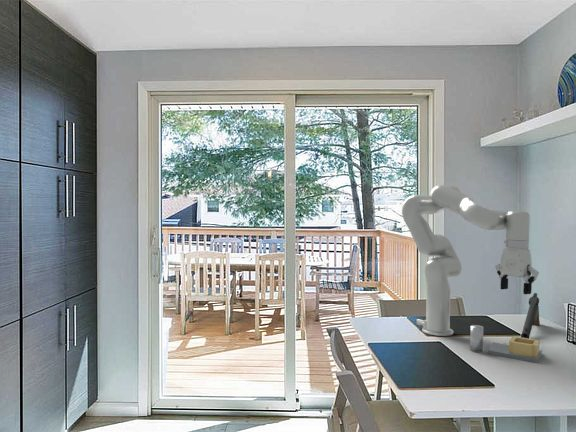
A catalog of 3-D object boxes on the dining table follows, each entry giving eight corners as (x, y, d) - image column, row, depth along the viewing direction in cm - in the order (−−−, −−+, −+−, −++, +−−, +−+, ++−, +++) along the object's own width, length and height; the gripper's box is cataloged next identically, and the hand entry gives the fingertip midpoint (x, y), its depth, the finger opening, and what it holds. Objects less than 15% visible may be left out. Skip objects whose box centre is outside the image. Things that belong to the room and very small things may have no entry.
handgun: (531, 363, 182) (530, 332, 177) (521, 361, 184) (519, 330, 179) (541, 321, 205) (540, 293, 200) (531, 320, 207) (530, 292, 202)
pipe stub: (468, 351, 164) (469, 326, 164) (471, 348, 168) (472, 324, 168) (481, 353, 162) (482, 328, 162) (484, 350, 165) (484, 326, 165)
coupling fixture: (487, 353, 162) (487, 339, 162) (494, 345, 171) (494, 332, 171) (537, 362, 152) (538, 347, 152) (541, 353, 162) (542, 339, 162)
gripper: (490, 242, 170) (488, 287, 170) (531, 247, 154) (529, 296, 154) (504, 242, 173) (502, 286, 173) (546, 246, 157) (544, 295, 157)
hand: (515, 291), depth 164 cm, fingers open, 9 cm apart
